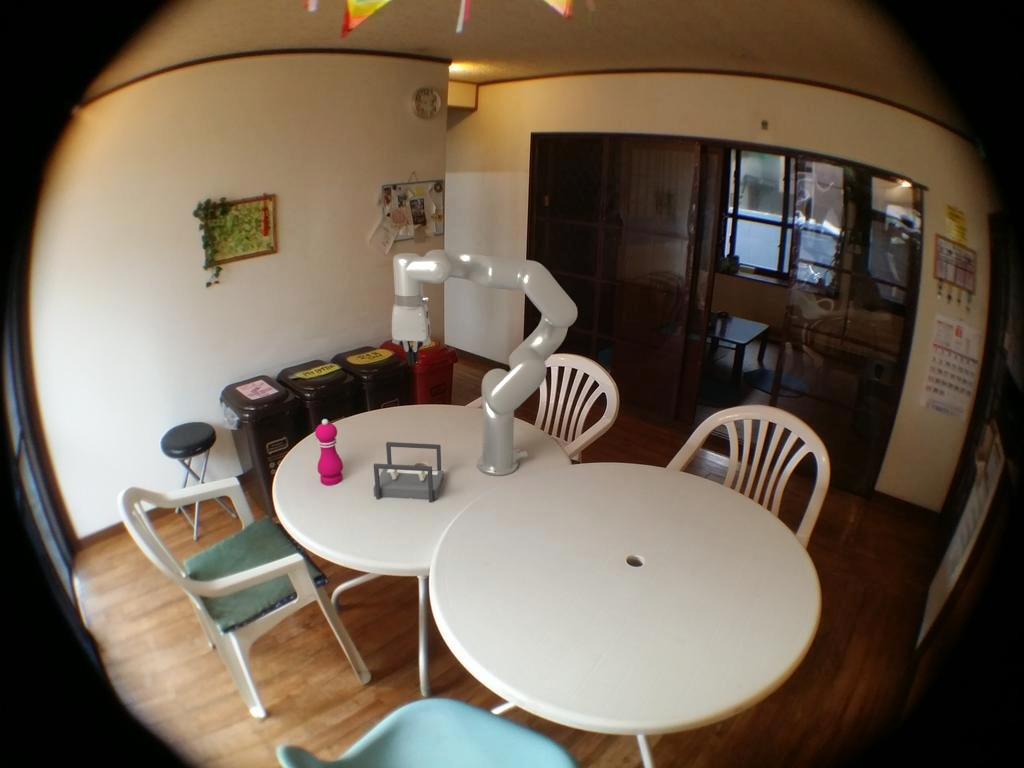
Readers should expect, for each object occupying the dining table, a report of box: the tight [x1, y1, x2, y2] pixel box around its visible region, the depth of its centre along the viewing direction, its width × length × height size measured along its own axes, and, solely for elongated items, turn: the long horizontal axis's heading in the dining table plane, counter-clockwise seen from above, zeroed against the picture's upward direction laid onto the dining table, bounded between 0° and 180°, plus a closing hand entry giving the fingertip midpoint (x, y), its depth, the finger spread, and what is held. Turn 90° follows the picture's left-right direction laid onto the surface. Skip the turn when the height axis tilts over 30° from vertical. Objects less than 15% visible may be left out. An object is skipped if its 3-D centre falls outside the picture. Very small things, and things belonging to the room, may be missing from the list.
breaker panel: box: [372, 469, 445, 501], centre depth 165 cm, size 18×11×3 cm, turn 86°
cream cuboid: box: [418, 471, 426, 481], centre depth 163 cm, size 1×3×2 cm, turn 174°
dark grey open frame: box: [373, 441, 442, 503], centre depth 163 cm, size 16×14×11 cm
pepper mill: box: [314, 418, 344, 486], centre depth 164 cm, size 7×7×20 cm
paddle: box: [390, 469, 398, 479], centre depth 164 cm, size 1×3×2 cm, turn 174°
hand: (412, 363), depth 161 cm, fingers closed
